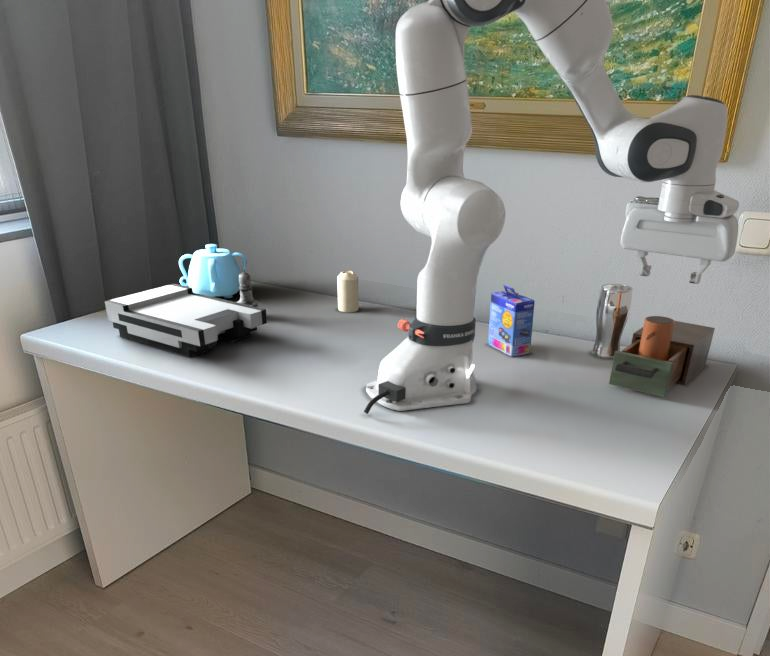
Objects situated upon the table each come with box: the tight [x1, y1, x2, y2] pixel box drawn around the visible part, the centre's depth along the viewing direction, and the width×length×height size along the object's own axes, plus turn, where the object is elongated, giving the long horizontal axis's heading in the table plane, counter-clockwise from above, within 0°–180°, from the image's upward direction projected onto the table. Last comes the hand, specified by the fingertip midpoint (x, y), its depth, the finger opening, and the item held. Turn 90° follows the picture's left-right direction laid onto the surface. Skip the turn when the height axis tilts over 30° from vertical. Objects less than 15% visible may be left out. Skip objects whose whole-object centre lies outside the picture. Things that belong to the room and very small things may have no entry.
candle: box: [336, 269, 360, 313], centre depth 189 cm, size 6×6×10 cm
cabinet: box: [630, 320, 716, 386], centre depth 152 cm, size 14×12×8 cm
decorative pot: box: [178, 243, 248, 299], centre depth 200 cm, size 16×16×14 cm
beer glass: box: [591, 283, 634, 360], centre depth 158 cm, size 7×7×15 cm
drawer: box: [608, 338, 690, 398], centre depth 142 cm, size 18×11×7 cm, turn 143°
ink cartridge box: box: [487, 284, 536, 358], centre depth 161 cm, size 10×6×14 cm, turn 28°
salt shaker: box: [235, 269, 259, 308], centre depth 182 cm, size 6×6×12 cm
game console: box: [104, 283, 268, 358], centre depth 169 cm, size 21×32×8 cm, turn 54°
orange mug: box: [638, 315, 676, 361], centre depth 141 cm, size 9×6×12 cm, turn 143°
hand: (669, 279), depth 135 cm, fingers open, 8 cm apart
